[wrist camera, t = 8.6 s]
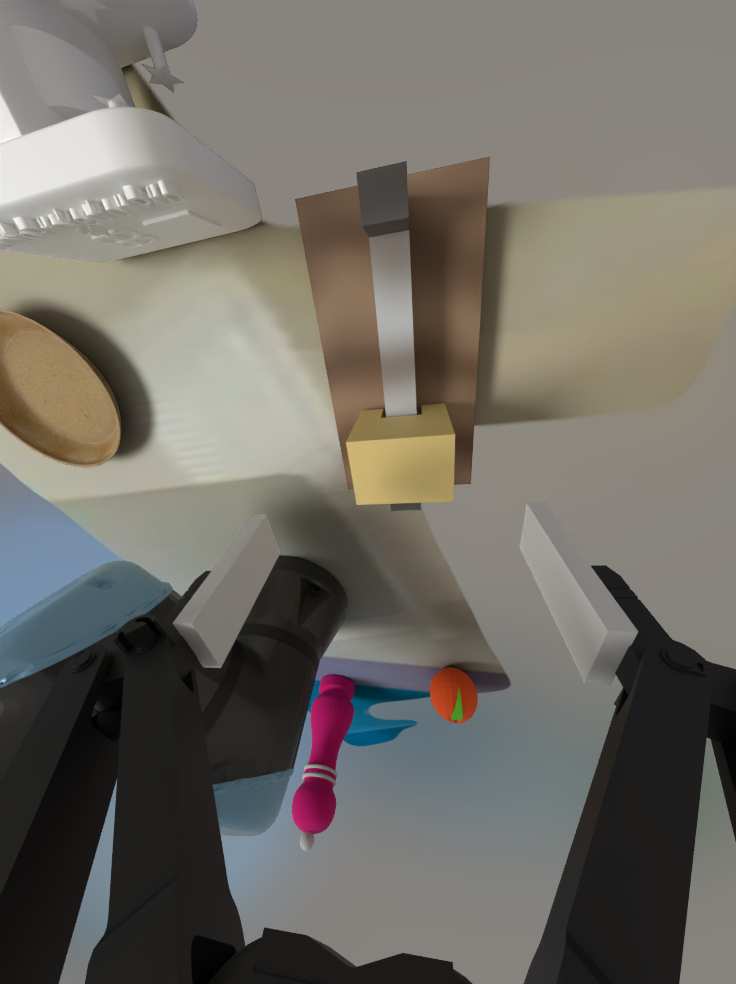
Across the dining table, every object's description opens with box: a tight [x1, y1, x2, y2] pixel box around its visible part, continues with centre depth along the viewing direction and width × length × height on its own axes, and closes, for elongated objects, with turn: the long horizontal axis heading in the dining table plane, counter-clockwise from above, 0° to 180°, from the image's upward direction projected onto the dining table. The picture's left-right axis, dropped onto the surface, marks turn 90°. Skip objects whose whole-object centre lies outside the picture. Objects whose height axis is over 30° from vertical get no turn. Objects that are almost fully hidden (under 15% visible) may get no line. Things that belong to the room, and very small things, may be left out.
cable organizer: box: [0, 0, 262, 262], centre depth 16 cm, size 15×11×12 cm
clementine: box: [430, 667, 478, 723], centre depth 45 cm, size 8×7×7 cm
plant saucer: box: [0, 309, 121, 467], centre depth 30 cm, size 15×15×3 cm
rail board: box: [295, 157, 490, 511], centre depth 22 cm, size 22×12×7 cm, turn 7°
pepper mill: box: [292, 675, 355, 851], centre depth 46 cm, size 7×7×20 cm
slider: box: [346, 403, 455, 505], centre depth 24 cm, size 5×7×7 cm
